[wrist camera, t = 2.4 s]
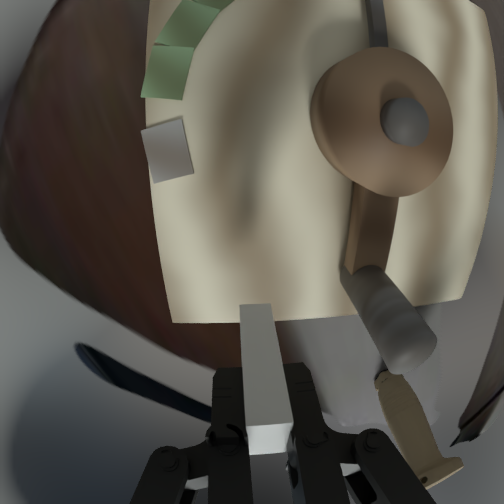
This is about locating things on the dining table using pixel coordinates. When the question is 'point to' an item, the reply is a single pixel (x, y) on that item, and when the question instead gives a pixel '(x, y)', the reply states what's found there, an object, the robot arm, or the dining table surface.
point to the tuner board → (300, 153)
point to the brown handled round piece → (382, 174)
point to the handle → (413, 430)
